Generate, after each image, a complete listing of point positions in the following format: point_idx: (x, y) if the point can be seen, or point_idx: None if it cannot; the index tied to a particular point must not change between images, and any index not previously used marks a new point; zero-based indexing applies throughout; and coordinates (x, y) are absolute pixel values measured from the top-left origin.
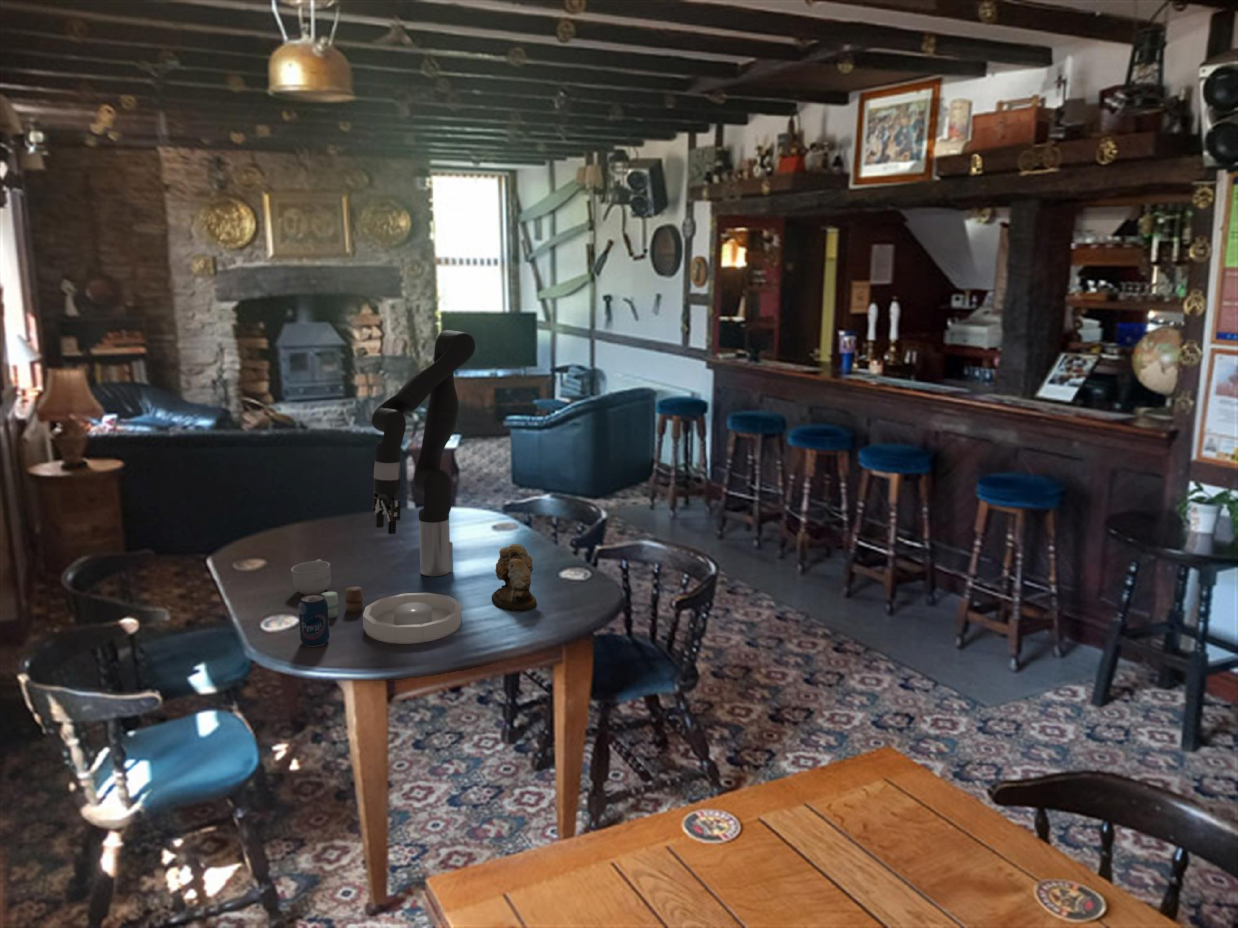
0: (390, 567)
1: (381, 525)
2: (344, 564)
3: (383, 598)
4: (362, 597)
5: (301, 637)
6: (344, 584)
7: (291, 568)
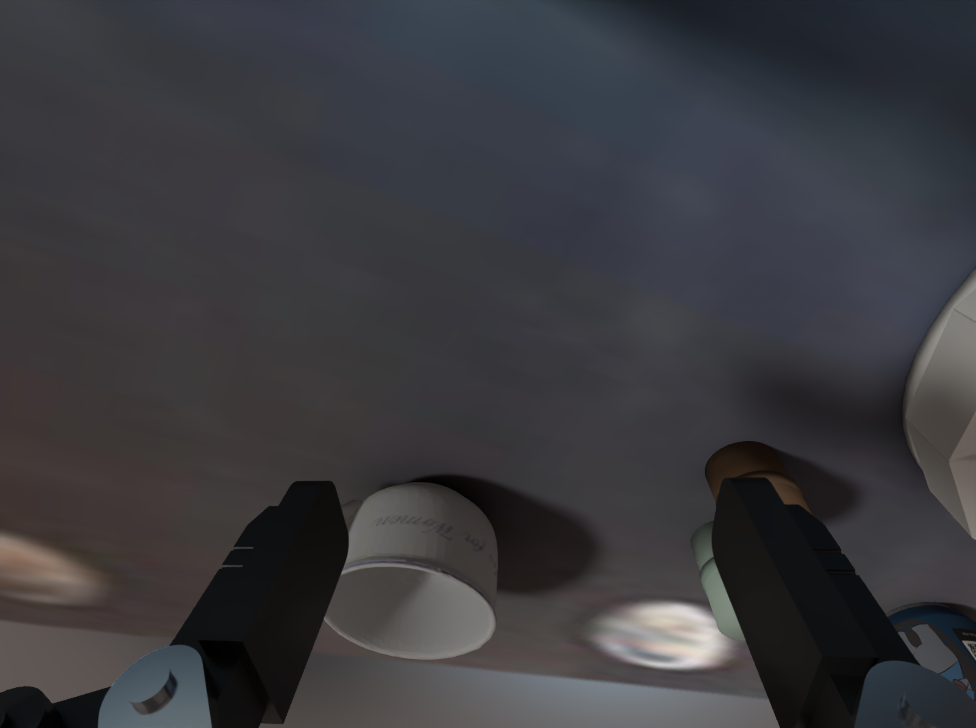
0: (166, 86)
1: (327, 514)
2: (61, 311)
3: (960, 452)
4: (784, 482)
5: None
6: (392, 404)
7: (377, 651)
